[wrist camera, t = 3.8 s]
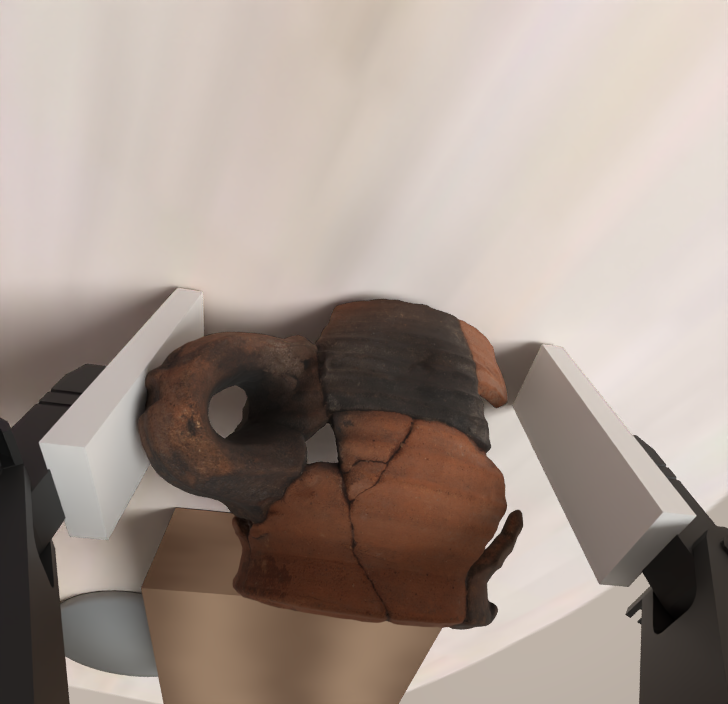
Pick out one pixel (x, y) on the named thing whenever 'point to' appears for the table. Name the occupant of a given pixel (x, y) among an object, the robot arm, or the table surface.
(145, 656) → the coaster
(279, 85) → the table surface
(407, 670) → the plinth
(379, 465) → the pottery mug
